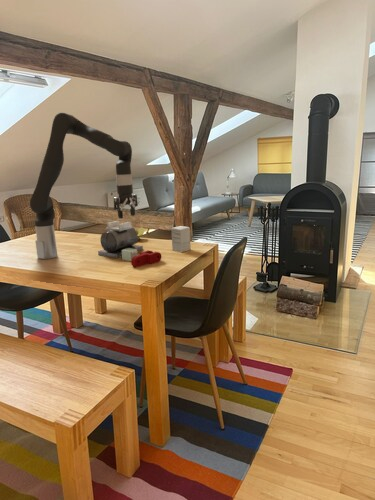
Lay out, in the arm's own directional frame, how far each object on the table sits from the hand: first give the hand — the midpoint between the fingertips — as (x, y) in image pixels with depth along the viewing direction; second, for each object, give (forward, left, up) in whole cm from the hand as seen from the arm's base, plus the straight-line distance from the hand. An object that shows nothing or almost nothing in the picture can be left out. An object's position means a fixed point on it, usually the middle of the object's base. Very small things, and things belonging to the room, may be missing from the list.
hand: (126, 216), depth 191 cm
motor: (+8, +14, -22) cm, 27 cm away
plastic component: (+30, +30, -22) cm, 48 cm away
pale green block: (0, 0, -22) cm, 22 cm away
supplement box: (+27, -13, -22) cm, 37 cm away
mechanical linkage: (-2, -12, -22) cm, 25 cm away
